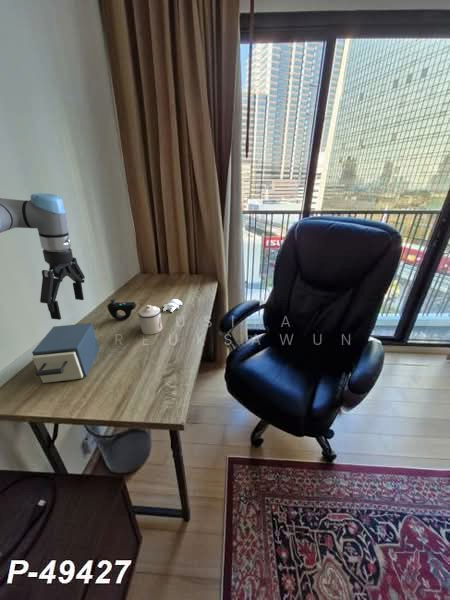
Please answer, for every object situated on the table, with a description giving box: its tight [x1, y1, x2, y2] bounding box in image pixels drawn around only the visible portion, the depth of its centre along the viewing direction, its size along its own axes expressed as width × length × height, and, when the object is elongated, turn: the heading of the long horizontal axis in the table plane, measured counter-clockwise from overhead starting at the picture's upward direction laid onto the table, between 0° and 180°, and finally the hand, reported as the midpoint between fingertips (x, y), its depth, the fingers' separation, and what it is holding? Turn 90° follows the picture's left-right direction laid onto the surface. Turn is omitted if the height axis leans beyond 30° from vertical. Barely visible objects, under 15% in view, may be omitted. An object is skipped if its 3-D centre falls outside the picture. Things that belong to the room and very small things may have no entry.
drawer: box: [32, 350, 84, 384], centre depth 82 cm, size 19×12×10 cm, turn 9°
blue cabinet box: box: [31, 322, 100, 378], centre depth 86 cm, size 15×13×12 cm
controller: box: [106, 298, 137, 321], centre depth 114 cm, size 4×12×10 cm, turn 96°
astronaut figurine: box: [162, 298, 183, 313], centre depth 126 cm, size 9×12×3 cm
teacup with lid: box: [137, 304, 163, 336], centre depth 107 cm, size 12×9×12 cm
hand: (68, 308), depth 87 cm, fingers open, 13 cm apart
